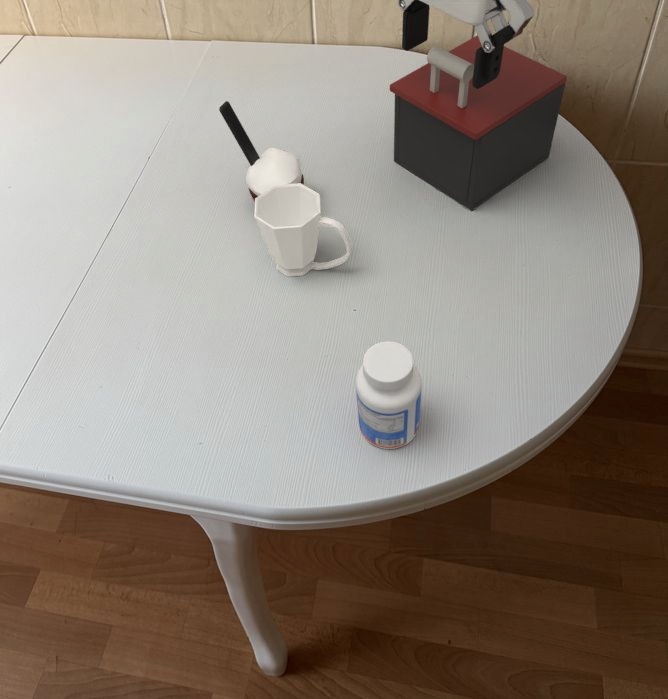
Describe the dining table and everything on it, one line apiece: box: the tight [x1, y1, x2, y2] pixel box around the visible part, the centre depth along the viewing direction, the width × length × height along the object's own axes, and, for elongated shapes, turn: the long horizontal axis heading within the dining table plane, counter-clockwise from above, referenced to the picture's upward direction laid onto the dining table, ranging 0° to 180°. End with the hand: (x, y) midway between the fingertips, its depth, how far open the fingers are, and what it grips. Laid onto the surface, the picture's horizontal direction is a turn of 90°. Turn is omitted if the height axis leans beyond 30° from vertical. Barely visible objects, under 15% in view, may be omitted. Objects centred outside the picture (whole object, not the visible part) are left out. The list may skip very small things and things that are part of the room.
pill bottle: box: [355, 340, 423, 450], centre depth 59 cm, size 6×5×10 cm
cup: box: [253, 183, 353, 278], centre depth 72 cm, size 7×10×8 cm
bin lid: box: [389, 35, 568, 140], centre depth 74 cm, size 14×13×6 cm
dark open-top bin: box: [393, 83, 566, 212], centre depth 81 cm, size 14×13×10 cm
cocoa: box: [218, 100, 305, 202], centre depth 77 cm, size 10×6×12 cm, turn 38°
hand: (448, 63), depth 71 cm, fingers open, 9 cm apart
